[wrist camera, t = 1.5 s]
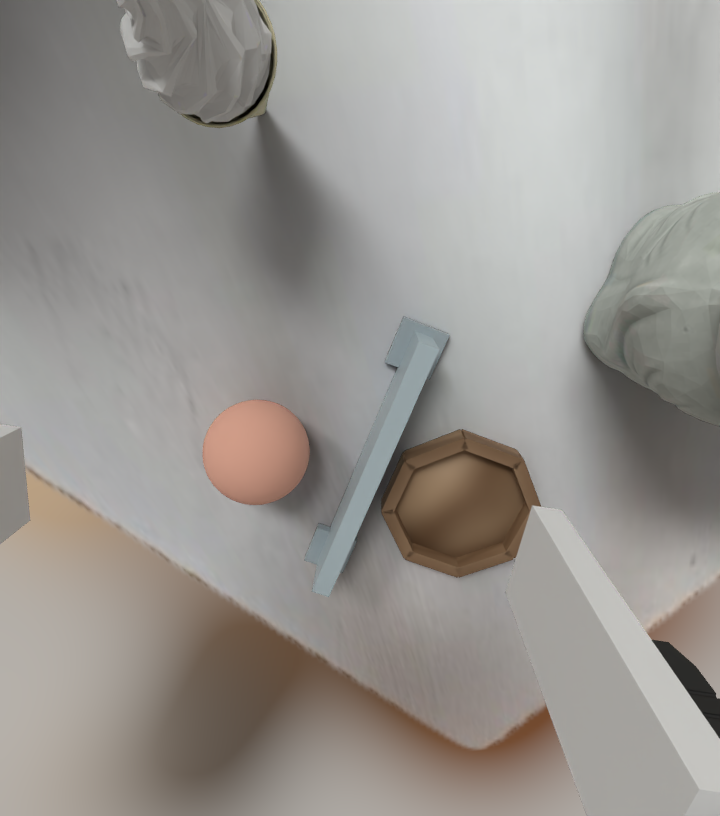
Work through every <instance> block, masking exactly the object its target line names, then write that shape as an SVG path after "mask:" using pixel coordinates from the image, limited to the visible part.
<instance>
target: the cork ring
mask: <svg viewBox="0 0 720 816" xmlns="http://www.w3.org/2000/svg"><path fill="white" fill-rule="evenodd" d="M404 452H405V453H404ZM404 452H403V453H402V455H401V458H400V460H399V462H398V464H397V466H396V469H395V471H394V473H393V475H392V477H391V480H390V482H389V484H388V486H387V488H386V491H385V493H384V495H383V497H382V499H381V513H382V515H383V517H384V519H385V521H386V523H387V525H388V527H389V529H390V531H391V533H392V535H393V537H394V539H395V541H396V543H397V545H398V547H399V549H400V551H401V553H402V555H403V558H405V560H408V561H411V562H414V563H417V564H419V565H422V566H425V567H428V568H431V569H434V570H437V571H440V572H443V573H446V574H448V575H451V576H454V577H458V576H459V577H462V576H465V575H468V574H471V573H474V572H477V571H480V570H483V569H486V568H489V567H492V566H495V565H498V564H501V563H504V562H507V561H510V560H513V558H515V557H516V556H517V553H518V550H519V546H520V543H521V540H522V537H523V534H524V530H525V527H526V524H527V521H528V518H529V514H530V511H531V508H532V505H533V506H540V507H541V505H540V502H539V499H538V497H537V494H536V491H535V488H534V486H533V483H532V480H531V478H530V475H529V472H528V470H527V467H526V464H525V461H524V460H523V458H522V457H521V455H520V454H519V452H518V451H517V450H516V449H514V448H511V447H508V446H506V445H503V444H500V443H498V442H495V441H492V440H490V439H487V438H484V437H482V436H479V435H476V434H474V433H471V432H468V431H466V430H463V429H462V430H460V429H459V430H457V431H454V432H452V433H449V434H447V435H444V436H441V437H439V438H436V439H434V440H431V441H429V442H426V443H423V444H421V445H418V446H416V447H413V448H410V449H408V450H405V451H404Z"/></svg>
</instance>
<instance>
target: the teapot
mask: <svg viewBox="0 0 720 816" xmlns="http://www.w3.org/2000/svg"><path fill="white" fill-rule="evenodd" d="M584 340H585V342H586V344H587V345H588V347H589V348H590V350H591V351H592V353H593V354H594V355H595V356H596V357H597V358H598V359H599V360H600V361H601V362H603V363H604V364H606V365H607V366H608V367H610V368H613V369H615V370H618V371H620V372H622V373H623V374H624V375H625V376H627V377H628V378H629V379H631V380H633V381H635V382H636V383H638V384H640V385H642V386H643V387H645V388H648V389H651V390H652V391H654V392H655V393H656V394H658V395H659V396H660V397H661V398H662V399H663V400H664V401H667V402H669V403H672V404H675V405H676V407H677V408H678V409H679V410H681V411H683V412H684V413H686V414H688V415H690V416H693V417H695V418H697V419H699V420H702V421H705V422H708V423H711V424H714V425H717V426H720V192H715V193H710V194H706V195H703V196H699V197H697V198H695V199H693V200H691V201H689V202H687V203H685V204H683V205H670V206H665V207H662V208H659V209H656V210H653V211H652V212H650V213H648V214H647V215H645V216H644V217H643V218H641V219H640V220H639V221H638V222H637V223H636V224H635V225H634V227H633V228H632V229H631V230H630V232H629V233H628V234H627V235H626V236H625V238H624V240H623V241H622V243H621V245H620V247H619V249H618V251H617V253H616V255H615V258H614V261H613V264H612V267H611V270H610V273H609V276H608V278H607V280H606V282H605V283H604V285H603V286H602V288H601V290H600V291H599V293H598V294H597V296H596V298H595V300H594V301H593V303H592V305H591V307H590V309H589V311H588V313H587V315H586V319H585V324H584Z"/></svg>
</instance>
